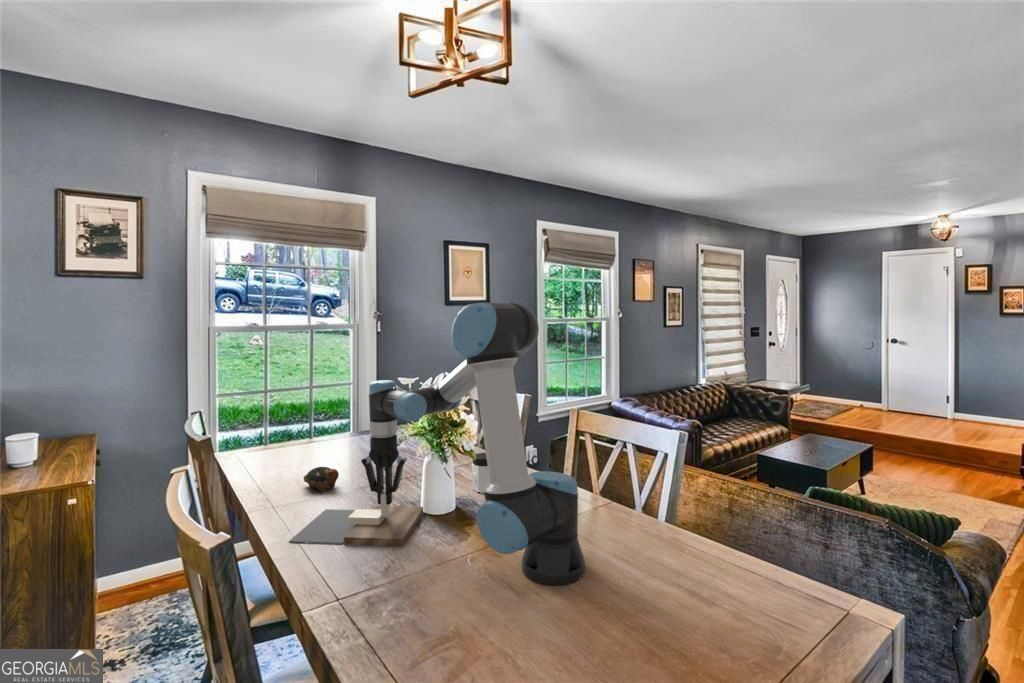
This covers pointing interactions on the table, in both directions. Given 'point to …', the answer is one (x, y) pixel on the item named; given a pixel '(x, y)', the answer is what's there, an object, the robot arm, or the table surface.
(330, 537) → the place mat
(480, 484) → the jar
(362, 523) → the cream rectangular block
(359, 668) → the table surface
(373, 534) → the serving board
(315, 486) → the decorative turtle
